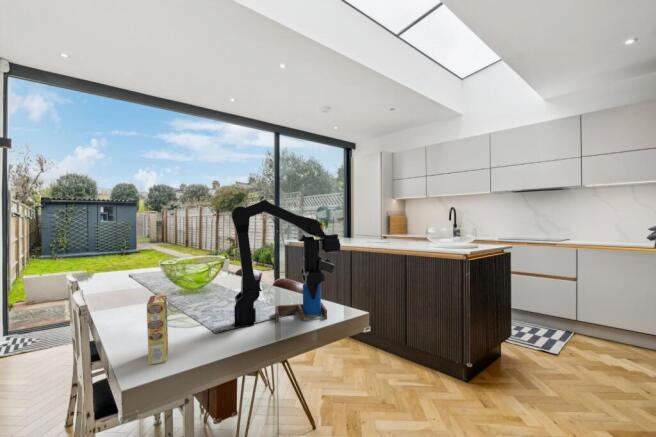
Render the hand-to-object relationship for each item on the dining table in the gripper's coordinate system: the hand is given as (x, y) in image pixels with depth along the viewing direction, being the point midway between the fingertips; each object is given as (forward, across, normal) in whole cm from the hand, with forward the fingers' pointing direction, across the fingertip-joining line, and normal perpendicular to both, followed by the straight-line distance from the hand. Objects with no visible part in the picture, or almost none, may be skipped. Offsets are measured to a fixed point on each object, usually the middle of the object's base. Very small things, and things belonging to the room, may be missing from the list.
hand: (311, 296), depth 118 cm
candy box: (+7, -25, +44) cm, 51 cm away
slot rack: (+7, 0, +4) cm, 8 cm away
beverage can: (+7, 0, 0) cm, 7 cm away
